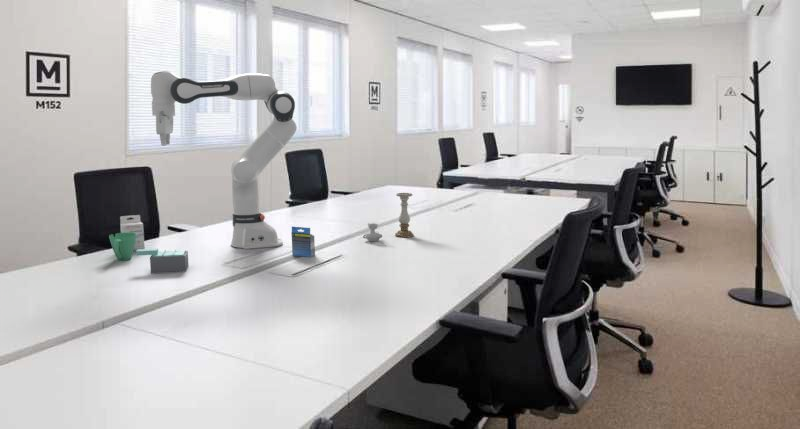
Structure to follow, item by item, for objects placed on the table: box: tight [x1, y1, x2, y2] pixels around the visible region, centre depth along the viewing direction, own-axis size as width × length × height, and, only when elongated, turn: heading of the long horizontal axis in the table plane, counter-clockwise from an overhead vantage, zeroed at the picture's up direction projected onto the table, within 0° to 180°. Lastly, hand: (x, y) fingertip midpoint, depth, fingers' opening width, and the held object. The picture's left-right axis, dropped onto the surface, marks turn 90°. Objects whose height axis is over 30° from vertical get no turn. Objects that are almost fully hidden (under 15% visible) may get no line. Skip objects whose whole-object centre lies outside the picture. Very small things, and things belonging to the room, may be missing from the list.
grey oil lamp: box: [362, 222, 383, 243], centre depth 285 cm, size 9×7×8 cm
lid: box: [136, 248, 187, 257], centre depth 229 cm, size 16×8×3 cm, turn 102°
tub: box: [149, 250, 189, 274], centre depth 230 cm, size 12×9×7 cm
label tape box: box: [291, 226, 316, 258], centre depth 256 cm, size 9×4×12 cm, turn 71°
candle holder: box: [394, 192, 414, 238], centre depth 297 cm, size 9×9×20 cm
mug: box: [108, 232, 136, 262], centre depth 247 cm, size 15×10×10 cm
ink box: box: [119, 214, 146, 252], centre depth 266 cm, size 8×5×15 cm, turn 123°
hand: (165, 145), depth 259 cm, fingers open, 8 cm apart
